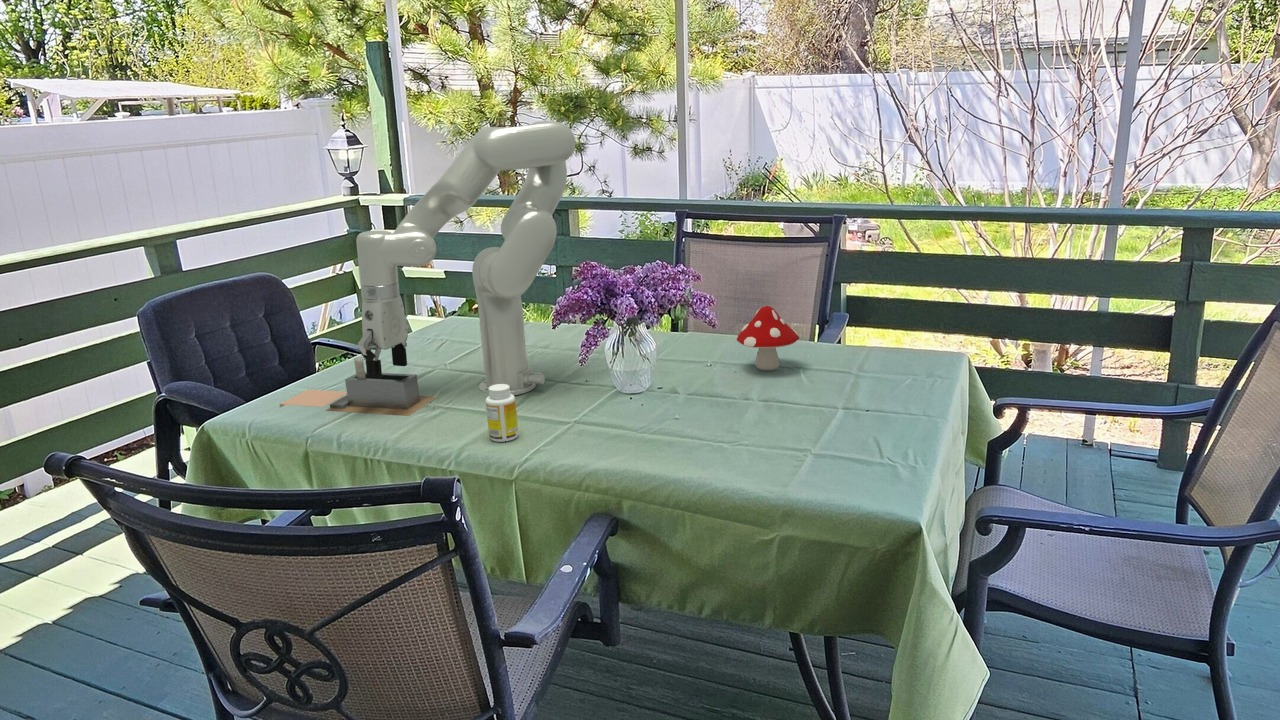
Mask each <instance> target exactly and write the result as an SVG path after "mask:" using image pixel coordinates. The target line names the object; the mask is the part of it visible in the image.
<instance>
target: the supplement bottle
mask: <svg viewBox="0 0 1280 720" xmlns="http://www.w3.org/2000/svg"><path fill="white" fill-rule="evenodd" d="M485 409H486V418H487V427H488V435H489V436H488V437H489V439H490V440H491V441H493V442H497V443H504V442H505V441H506V442H510V441H513V440H515V439H517V438H518V436H519V425H518V417H517V414H518V413H517V407H516V398H515V395H512V394H510V386H509V385H507V384H496V385H492V386H490V387H489V393H488V396H487V397H485Z"/></svg>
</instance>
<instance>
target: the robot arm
mask: <svg viewBox="0 0 1280 720" xmlns="http://www.w3.org/2000/svg"><path fill="white" fill-rule="evenodd" d="M575 149H576V137H575V135H574V132H573V131H572V129H571V128H570V127H569V126H568V125H566V124H565V123H563V122H560V121H555V120H554V121H548V120H539V121H534V122H532V123H530V124H527V125H517V126H502V127H499V126H487V127H483V128H482V129H480V130H479V131H477V132H476V133H475V134H474V135H473V136H472V138H471V139H470V140H469V141H468V143H467V144H465V146H464V148H462V150H461V152H459V154H458V156H457V157H456V158H455V159H454V161H453V162H452V163H451V165H450V166H449V167H448V168H447V170H446V171H444V173H443V175H442V176H440V178H438V180H437V181H436V182H435V183H434V184H433V185H432V186H431V187H430V189H429V190H428V191H427V192H426V193H425V194H424V195H423V196H422V197H420V199H418V201H417V202H416V203H415V204H414V205H413V207H411V209H410V210H409V212H408V213H407V214H406V215H405V216H404V218H403V219H402V220H401V221H400V223H399V224H398V225H397V227H396V229H394V231H393V233H391V232H390V231H388V230H367V231H362V232H360V233H359V234H358V235H357V236H356V239H355V241H356V253H357V262H358V272H359V281H360V283H359V284H360V293H361V294H360V295H361V301H362V305H361V306H362V307H361V326H362V327H361V329H362V336H361V338H360V340H359V341H358V343H357V347H358V349H359V351H360V355H361V357H363V361H365V368H366V369H365V371H366V372H367V377H368V378H370V379H381V378H382V373H383V371H382V362H381V361H382V360H381V359H379V357H380V354H381V352H382V350H389V349H391V358H392V359H391V360H392V365H393V366H395V367H407V366H408V361H407V359H408V358H407V346H408V343H407V340H408V337H409V334H408V333H409V332H408V331H409V327H410V326H409V323H407V319H406V313H405V307H404V303H403V300H402V297H401V295H400V283H399V273H398V272H399V271H398V267H412V268H415V267H423V266H426V265H428V264H429V263H432V261H433V260H434V258H435V257H436V254H437V244H436V242H435V240H434V238H435V236H437V234H438V233H439V232H440V230H442V228H443V227H444V226H445V225H446V224H447V223H449V221H450V220H452V219H453V218H454V217H456V216H458V215H460V214H462V213H465V212H467V210H470V208H472V207H473V206H474V205H475V204H476V203H477V201H478V200H479V199H480V198H481V197H482V195H483V193H484V192H485V191H486V190H487V188H488V187H489V186H490V184H491V183H492V182H493V181H494V180H495V178H496V177H497V175H498V174H499V173H500V172H501V171H516V170H523V169H528V171H527V175H526V178H525V179H524V181H523V183H522V186H521V188H520V190H519V191H518V192H517V195H516V196H515V198H514V200H513V202H512V203H511V205H510V206H509V208H508V209H507V211H506V213H504V215H503V218H502V219H501V220H502V221H501V223H500V232H501V235H502V237H503V239H504V241H503V243H502V245H501V247H498V246H489V247H487V248H484V249H483V250H481V251H480V252H478V254H477V255H476V256H475V259H474V260H473V264H472V270H471V273H472V275H471V276H472V281H473V287H474V290H475V292H474V293H475V295H476V296H475V298H476V301H477V308H478V309H477V310H478V311H477V312H478V316H479V317H478V319H479V331H480V340H481V349H482V358H483V359H482V360H483V369H484V371H483V372H484V380H483V381H481V382H480V384H479V385H478V390H479V391H481V392H483V393H485V394H489V387H490V386H492V385H496V384H507V385H509V386H510V394H512V395H514V396H518V395H523V394H526V393H528V392H530V391H532V390H534V389H535V388H536V386H537V384H538V385H544V383H545V382H546V379H545V375H544V372H534V371H533V365H528V359H527V358H528V355H527V346H526V336H525V335H526V334H525V323H524V311H523V310H524V309H523V302H522V301H523V300H522V297H521V296H522V295H523V294H524V293H526V292H527V290H528V289H529V287H530V286H531V285H532V283H533V281H534V280H535V278H536V277H537V275H538V273H539V272H540V270H541V268H542V266H543V265H544V263H545V262H546V260H547V258H548V256H549V255H550V252H551V251H552V249H553V247H554V245H555V242H556V238H557V235H558V233H557V230H558V229H557V224H556V221H555V219H554V218H553V214H554V212H555V210H556V208H557V206H558V204H560V201H561V199H562V197H563V196H564V195H563V194H564V192H565V189H566V187H567V181H568V179H567V178H568V169H567V161H568V160H569V159H570V158H571V157H572V155H573V154H574V152H575ZM373 351H374V352H373Z"/></svg>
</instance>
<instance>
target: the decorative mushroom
mask: <svg viewBox="0 0 1280 720" xmlns="http://www.w3.org/2000/svg"><path fill="white" fill-rule="evenodd" d="M799 340H800V336H799V334H798V332H797V331H796V330H794V329H793V328H791V326H789V324H787V323H786V322H785V319H783V318H782V317H781V316H780V315H779V313H778V312H777V311H776V310H775V309H774V307H772V306H771V305H770V306H769V305H765V306H762V307H760V308H759V309H758V310H757V311H756V313H755V314H754V317H753V318H752V319H751V320H750V321H749V322H748V323H747V324H745V325H744V326H743V327H742V329H741V330H740V332H739V333H738V334H737V337H736V341H737V342H738V343H739V344H741V345H743V346H745V347H747V348H756V349H757V348H758V351H757V353H756V358H755V361H754V364H755V367H756V368H757V369H759V370H761V371H763V372H765V371H766V372H767V371H769V372H771V371H774V370H776V369H778V368H779V366H780V363H781V362H780V358H779V354H778V351H777V348H782V347H787V346H790V345H792V344H794V343H796V342H797V341H799Z"/></svg>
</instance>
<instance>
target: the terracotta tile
mask: <svg viewBox="0 0 1280 720" xmlns="http://www.w3.org/2000/svg"><path fill="white" fill-rule="evenodd" d="M346 395H347V391H345V390H344V391H341V390H340V391H339V390H322V389H306V390H304V391H302V392H300V393H298V394H296V395H294V396H292V397H290V398H289V399H287V400H285V401H283V402H280V403H279V408H282V407H283V406H286V405H287V406H298V407H299V406H300V407H301V406H302V407H318V408H319V407H320V408H323V407H326V406H328V405H330V404H332V403H333V402H335V401H337V400H339V399H341V398H342V397H344V396H346Z"/></svg>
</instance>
